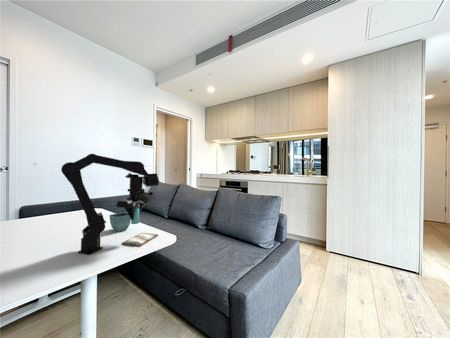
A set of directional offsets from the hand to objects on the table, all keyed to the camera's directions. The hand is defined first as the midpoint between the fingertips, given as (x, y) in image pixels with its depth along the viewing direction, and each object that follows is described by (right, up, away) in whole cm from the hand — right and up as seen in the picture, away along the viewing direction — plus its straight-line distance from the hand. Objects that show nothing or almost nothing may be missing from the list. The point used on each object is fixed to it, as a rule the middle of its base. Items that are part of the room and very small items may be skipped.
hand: (135, 218), depth 93 cm
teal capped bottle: (0, -2, 0) cm, 2 cm away
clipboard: (+2, -11, +3) cm, 12 cm away
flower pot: (-16, -11, +16) cm, 25 cm away
